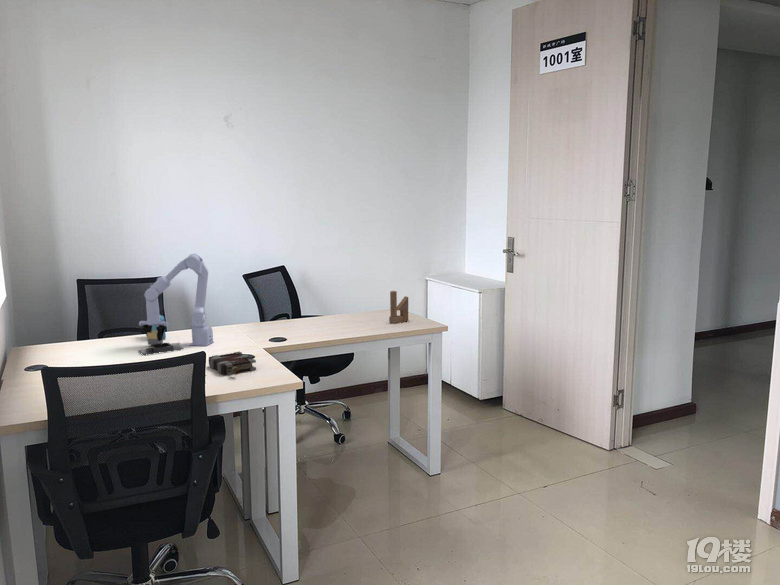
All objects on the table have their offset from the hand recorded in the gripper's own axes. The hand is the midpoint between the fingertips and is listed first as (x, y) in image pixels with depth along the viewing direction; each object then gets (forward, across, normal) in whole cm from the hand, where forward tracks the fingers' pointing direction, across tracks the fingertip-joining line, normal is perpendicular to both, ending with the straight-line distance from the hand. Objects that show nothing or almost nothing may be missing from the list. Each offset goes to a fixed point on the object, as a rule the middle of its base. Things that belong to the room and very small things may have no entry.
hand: (155, 340), depth 312 cm
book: (+4, +56, -34) cm, 65 cm away
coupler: (+2, 0, 0) cm, 2 cm away
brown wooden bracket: (+4, +108, +70) cm, 129 cm away
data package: (+3, -8, +16) cm, 19 cm away
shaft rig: (+3, +7, -7) cm, 10 cm away
